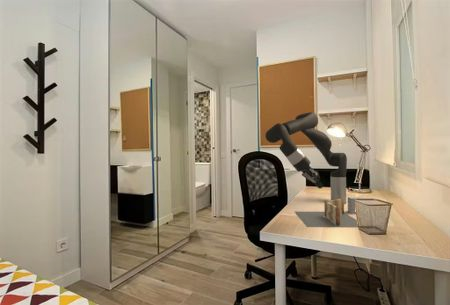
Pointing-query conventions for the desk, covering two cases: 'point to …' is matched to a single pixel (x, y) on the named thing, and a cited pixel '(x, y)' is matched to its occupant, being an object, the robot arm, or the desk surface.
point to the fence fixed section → (336, 204)
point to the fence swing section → (333, 213)
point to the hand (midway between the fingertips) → (321, 187)
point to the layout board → (325, 220)
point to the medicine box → (352, 204)
